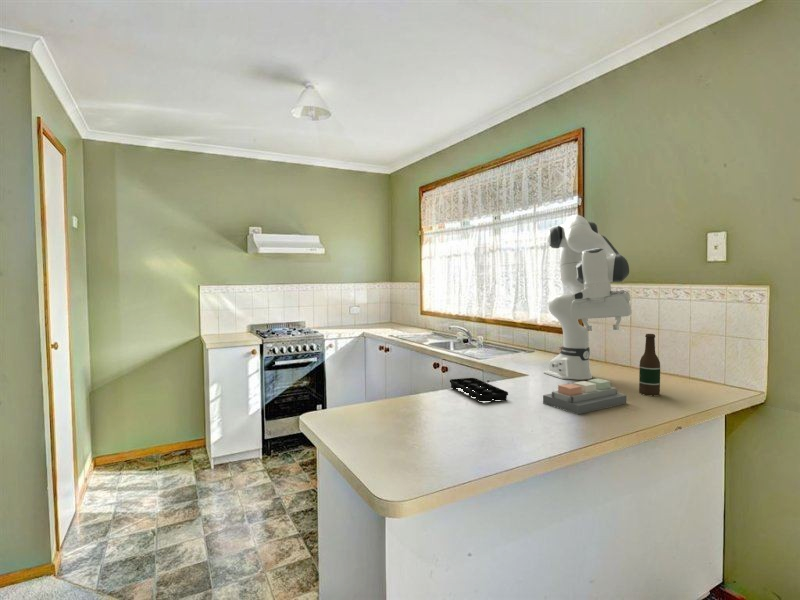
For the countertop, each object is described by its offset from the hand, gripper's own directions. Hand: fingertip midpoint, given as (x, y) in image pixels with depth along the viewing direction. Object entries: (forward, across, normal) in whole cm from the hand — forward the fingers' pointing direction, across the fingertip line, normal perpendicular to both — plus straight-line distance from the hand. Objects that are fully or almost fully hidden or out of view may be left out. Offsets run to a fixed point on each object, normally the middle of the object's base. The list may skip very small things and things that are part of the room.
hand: (602, 330), depth 164 cm
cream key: (+22, +8, +2) cm, 24 cm away
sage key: (+23, +6, -6) cm, 24 cm away
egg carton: (+23, +47, +15) cm, 54 cm away
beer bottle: (+29, -6, -28) cm, 41 cm away
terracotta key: (+22, +11, +9) cm, 26 cm away
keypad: (+27, +9, +2) cm, 28 cm away
